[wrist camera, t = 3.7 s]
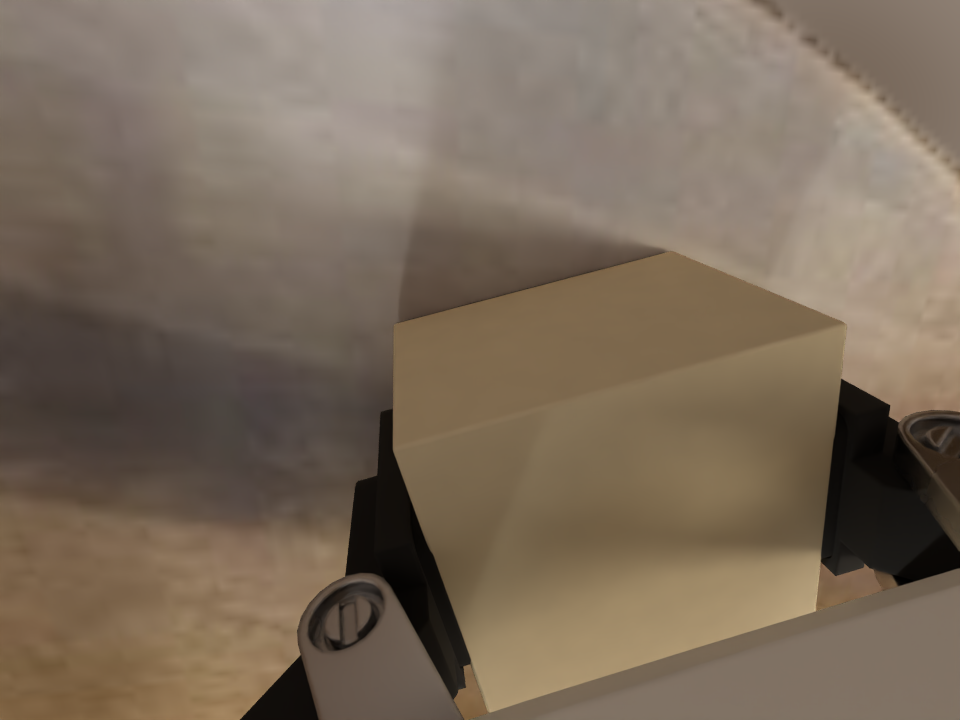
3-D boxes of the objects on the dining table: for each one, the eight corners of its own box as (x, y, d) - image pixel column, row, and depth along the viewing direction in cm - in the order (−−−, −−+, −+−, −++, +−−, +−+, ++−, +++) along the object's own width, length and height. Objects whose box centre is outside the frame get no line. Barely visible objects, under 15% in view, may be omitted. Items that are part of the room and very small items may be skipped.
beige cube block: (673, 249, 10) (849, 322, 6) (683, 474, 13) (815, 627, 9) (392, 323, 10) (391, 448, 6) (461, 537, 13) (492, 726, 9)
